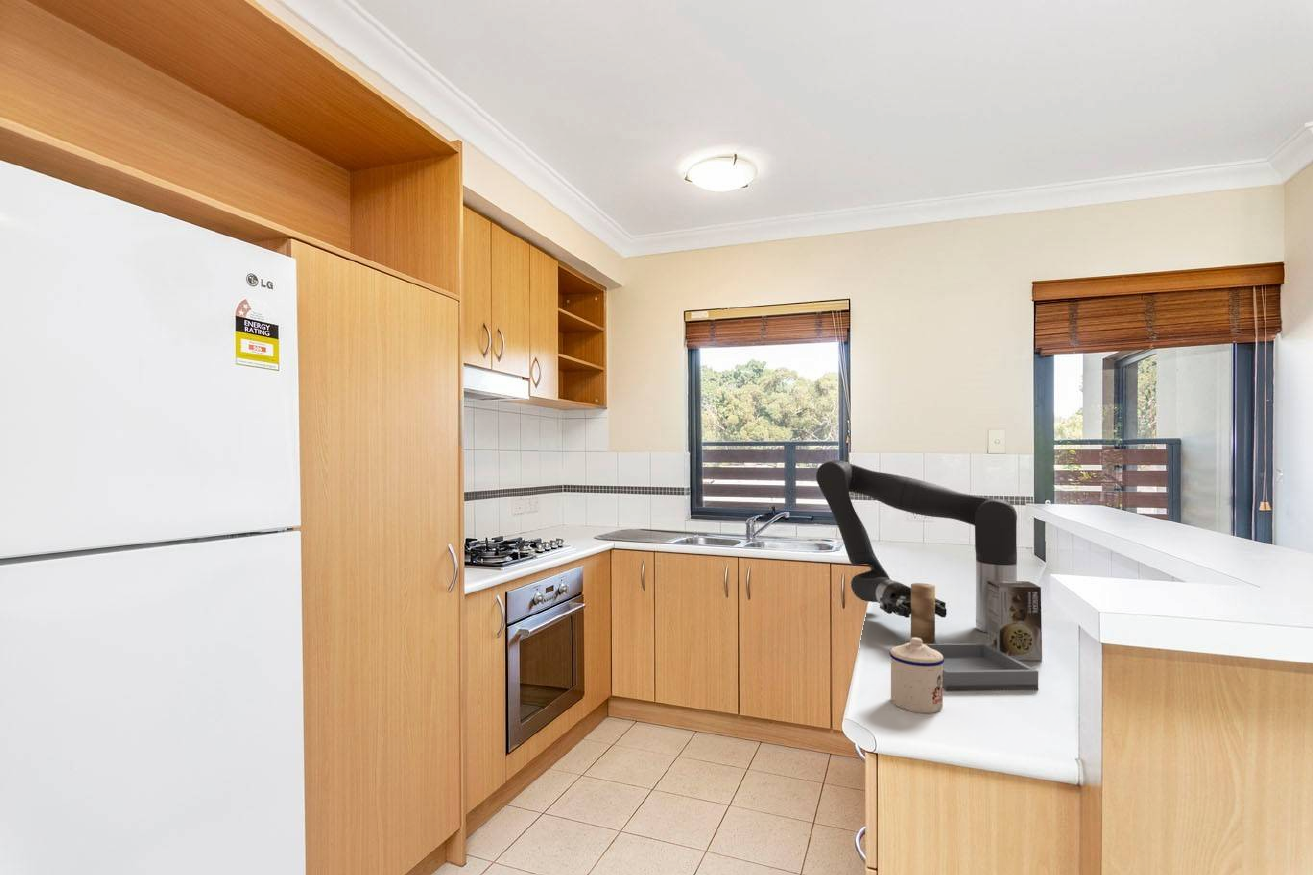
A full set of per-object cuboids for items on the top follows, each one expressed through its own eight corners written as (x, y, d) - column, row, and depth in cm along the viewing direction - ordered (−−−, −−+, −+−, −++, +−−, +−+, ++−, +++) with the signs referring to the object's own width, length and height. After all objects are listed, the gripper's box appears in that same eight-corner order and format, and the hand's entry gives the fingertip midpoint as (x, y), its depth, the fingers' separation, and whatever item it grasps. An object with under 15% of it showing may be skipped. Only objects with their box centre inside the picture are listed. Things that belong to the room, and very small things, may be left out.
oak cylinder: (928, 642, 153) (928, 583, 154) (939, 649, 148) (939, 587, 149) (906, 642, 153) (906, 583, 153) (917, 649, 148) (917, 587, 148)
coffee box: (1029, 652, 147) (1028, 580, 147) (1043, 661, 140) (1042, 586, 140) (986, 650, 147) (986, 579, 148) (998, 659, 141) (998, 585, 141)
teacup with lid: (945, 717, 110) (945, 648, 110) (888, 709, 113) (888, 642, 113) (942, 693, 121) (942, 630, 121) (890, 686, 124) (890, 625, 125)
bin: (984, 659, 141) (984, 643, 141) (1038, 689, 123) (1038, 671, 123) (904, 660, 140) (904, 643, 140) (946, 690, 122) (946, 672, 122)
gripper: (868, 582, 165) (896, 596, 149) (923, 582, 166) (956, 596, 150) (868, 612, 165) (896, 629, 149) (923, 611, 166) (956, 629, 149)
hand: (926, 613), depth 149 cm, fingers open, 8 cm apart
